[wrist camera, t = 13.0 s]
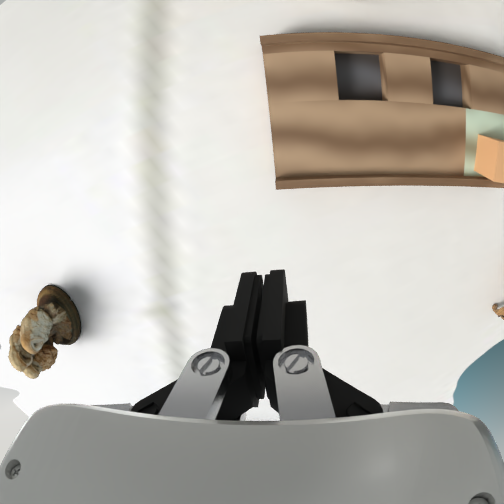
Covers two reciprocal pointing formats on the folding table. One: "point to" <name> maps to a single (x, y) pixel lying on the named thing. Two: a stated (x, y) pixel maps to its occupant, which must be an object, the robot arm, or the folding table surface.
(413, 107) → the box
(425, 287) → the folding table surface
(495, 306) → the lion figurine
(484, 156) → the block
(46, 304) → the brown lumpy sculpture
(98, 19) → the folding table surface
